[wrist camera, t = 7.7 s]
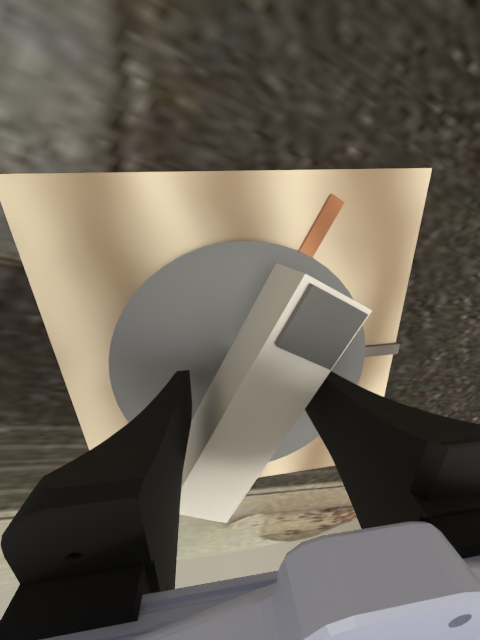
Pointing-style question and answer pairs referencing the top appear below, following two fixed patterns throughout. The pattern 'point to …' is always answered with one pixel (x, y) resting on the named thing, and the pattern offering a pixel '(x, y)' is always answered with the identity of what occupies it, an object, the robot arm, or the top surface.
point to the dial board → (199, 231)
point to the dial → (237, 358)
